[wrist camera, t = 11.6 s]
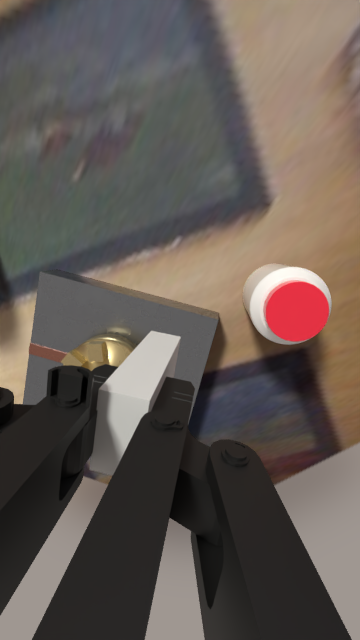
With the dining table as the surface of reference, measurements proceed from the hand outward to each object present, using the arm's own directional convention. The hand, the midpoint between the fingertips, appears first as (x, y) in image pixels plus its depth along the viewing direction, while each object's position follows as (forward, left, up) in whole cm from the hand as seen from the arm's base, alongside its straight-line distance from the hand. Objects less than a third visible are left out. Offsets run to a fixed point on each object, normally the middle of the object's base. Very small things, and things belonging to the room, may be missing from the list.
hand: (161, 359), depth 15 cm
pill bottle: (-10, -2, -25) cm, 27 cm away
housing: (+7, +12, -24) cm, 28 cm away
